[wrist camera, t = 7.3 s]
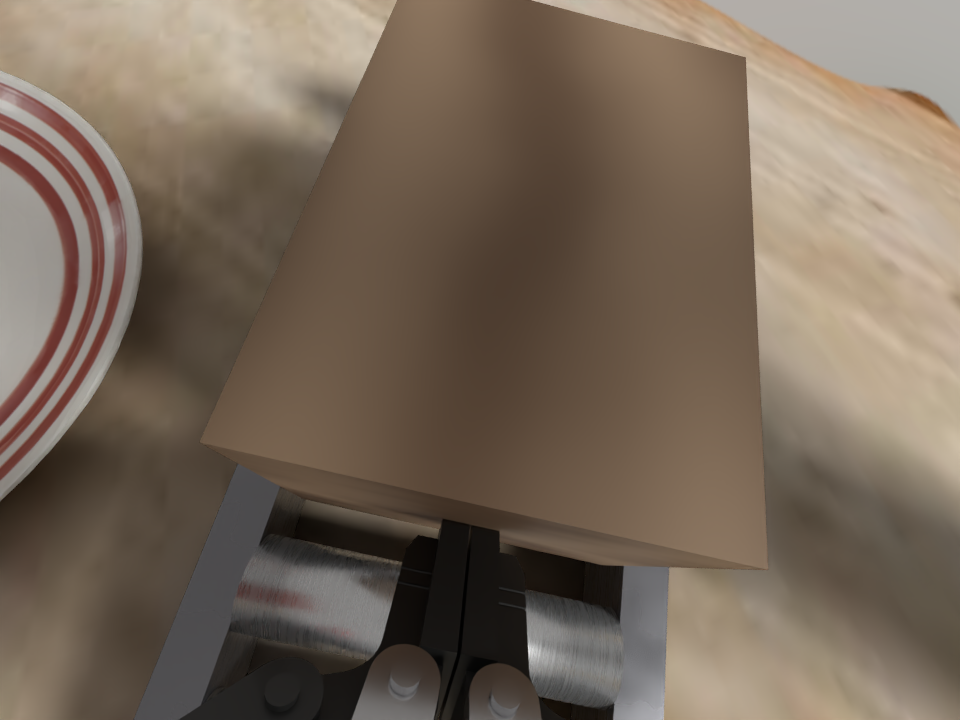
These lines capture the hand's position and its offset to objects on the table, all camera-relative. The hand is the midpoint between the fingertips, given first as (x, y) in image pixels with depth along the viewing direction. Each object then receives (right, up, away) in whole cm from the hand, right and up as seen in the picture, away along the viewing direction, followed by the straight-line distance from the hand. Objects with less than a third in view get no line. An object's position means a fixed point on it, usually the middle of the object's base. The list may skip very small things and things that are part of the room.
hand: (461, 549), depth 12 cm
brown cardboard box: (+1, +6, +6) cm, 8 cm away
